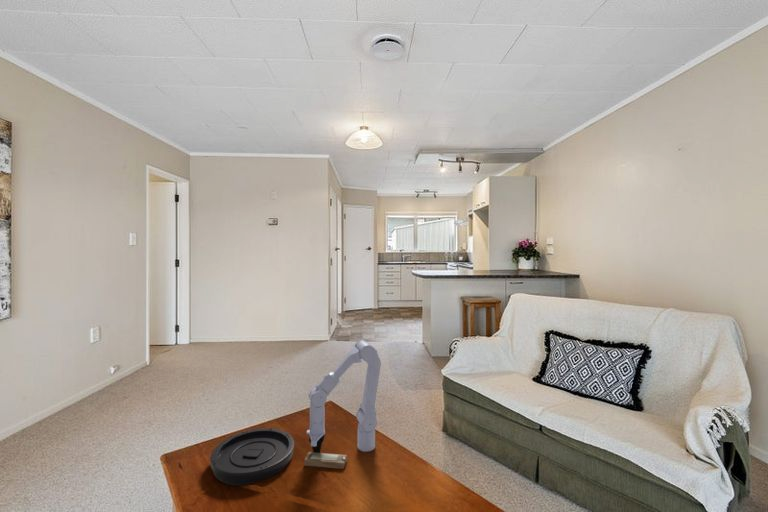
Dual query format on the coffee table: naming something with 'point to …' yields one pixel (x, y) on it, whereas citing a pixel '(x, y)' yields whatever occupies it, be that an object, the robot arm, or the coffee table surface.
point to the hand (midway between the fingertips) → (316, 454)
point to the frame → (325, 460)
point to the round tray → (251, 456)
